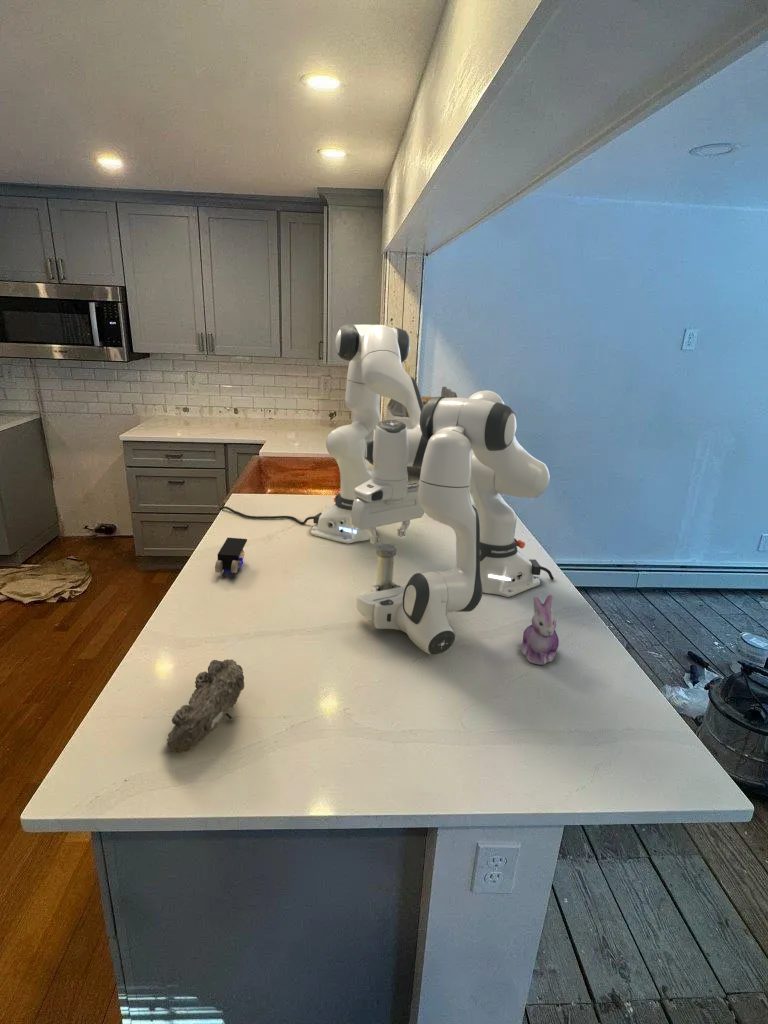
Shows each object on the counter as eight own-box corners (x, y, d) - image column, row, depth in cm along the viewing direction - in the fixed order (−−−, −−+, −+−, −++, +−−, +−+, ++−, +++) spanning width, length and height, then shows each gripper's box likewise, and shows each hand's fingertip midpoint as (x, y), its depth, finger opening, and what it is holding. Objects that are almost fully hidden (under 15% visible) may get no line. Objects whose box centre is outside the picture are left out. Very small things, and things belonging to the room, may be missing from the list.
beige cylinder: (383, 600, 154) (385, 544, 149) (394, 605, 152) (397, 548, 146) (372, 605, 151) (375, 548, 146) (384, 610, 149) (387, 553, 143)
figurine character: (238, 584, 162) (249, 557, 175) (236, 562, 158) (247, 536, 172) (215, 584, 161) (227, 556, 175) (212, 561, 158) (225, 535, 171)
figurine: (539, 671, 126) (548, 612, 121) (509, 647, 135) (517, 591, 130) (570, 661, 130) (580, 603, 125) (539, 638, 139) (548, 583, 134)
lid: (385, 548, 150) (385, 541, 149) (399, 554, 147) (400, 547, 146) (372, 553, 146) (372, 546, 145) (386, 559, 143) (387, 552, 142)
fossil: (192, 660, 117) (244, 628, 112) (224, 691, 120) (276, 661, 115) (142, 746, 98) (202, 712, 93) (182, 779, 101) (242, 748, 96)
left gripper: (415, 478, 148) (413, 528, 153) (348, 489, 137) (347, 542, 142) (430, 484, 143) (427, 535, 148) (362, 496, 132) (361, 551, 137)
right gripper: (444, 591, 142) (417, 569, 154) (371, 607, 133) (348, 582, 145) (443, 613, 145) (416, 590, 156) (370, 630, 136) (347, 604, 147)
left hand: (388, 539), depth 145 cm, fingers open, 7 cm apart
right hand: (382, 586), depth 150 cm, fingers closed on beige cylinder, 4 cm apart
